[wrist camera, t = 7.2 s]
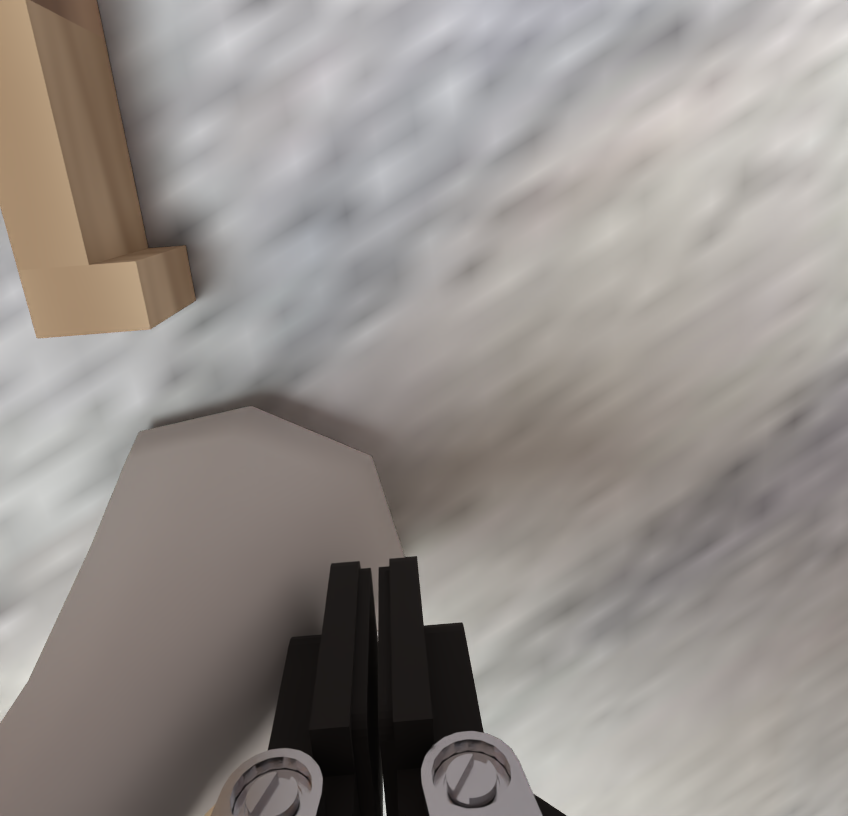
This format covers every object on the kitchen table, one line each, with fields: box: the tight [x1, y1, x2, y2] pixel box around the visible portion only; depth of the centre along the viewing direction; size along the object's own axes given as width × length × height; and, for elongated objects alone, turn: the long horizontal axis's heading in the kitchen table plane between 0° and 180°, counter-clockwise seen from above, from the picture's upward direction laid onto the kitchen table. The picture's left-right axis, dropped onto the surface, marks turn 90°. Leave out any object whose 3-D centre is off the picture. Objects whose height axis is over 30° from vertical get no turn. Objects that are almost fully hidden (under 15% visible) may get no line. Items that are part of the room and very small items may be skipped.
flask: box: [0, 406, 405, 816], centre depth 11 cm, size 7×7×10 cm
